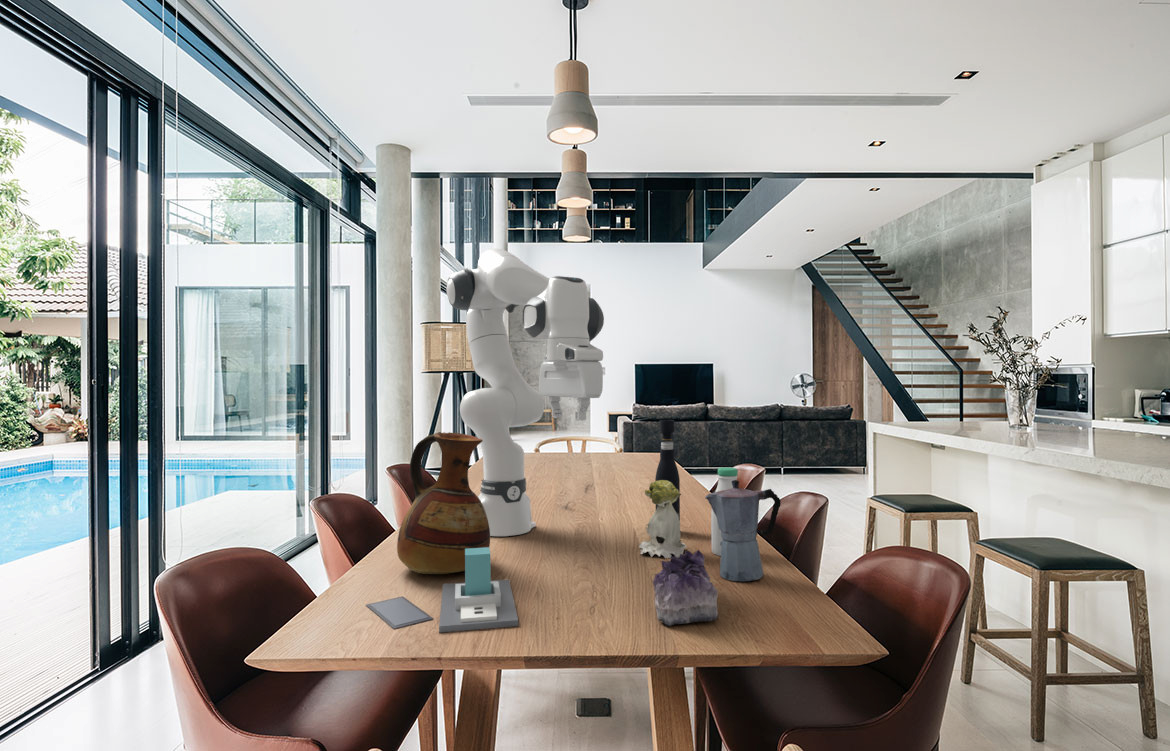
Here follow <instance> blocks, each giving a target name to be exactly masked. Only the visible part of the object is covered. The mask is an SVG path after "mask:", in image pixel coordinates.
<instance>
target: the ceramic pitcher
mask: <svg viewBox="0 0 1170 751" xmlns="http://www.w3.org/2000/svg"><path fill="white" fill-rule="evenodd" d="M482 441H483V440H482V439H479V438H478V437H477V436H473V435H470V434H469V435H468V434H466V433H458V432H450V431H449V432H445V431H443V432H441V431H439V432H435V433H433V434H431V435H430V434H429V435H427V436H426V437H423V439H421V440H420V441H418V443H417V444H416V445H415V446H414V449H413V452H412V454H411V457H410V461H409V474H410V479H411V482H412V486H413V490H414V493H415V494H414V496H415V497H414V501H413V502H412V503H411V505H410V506H409V508H408V510H407V511H406V513H405V515H404V517H403V519H402V522H401V525H400V527H399V531H398V535H397V542H396V551H397V556H398V559H399V561H401V563H402V564H403V565H404V566H406V568H408V569H409V570H411V571H412V572H415V573H419V574H424V575H448V574H453V573H454V574H455V573H462V572H465V549H468V548H485V547H489V548H490V545H491V536H490V528H489V524H488V519H487V515H486V512H485V509H484V507H483V505H482V503H481V501H480V499H479V498H478V495H477V494H476V493H475V492H474V491H473V490H472V489H471V488H470V484H469V467H470V465H471V463H470V462H471V457H472V455H473V452H474V450H475V449H476V448H477V447H478V446H479V445H480V443H481V442H482ZM436 442H437V443H438V447H439V448H440V452H441V466H440V470H439V474H438V477H437V479H436V482H434V484H433V485H432V486H429V487H427V486H426V485H425V482H424V479H423V474H422V473H423V472H422V462H423V458H424V455H425V453H426V451H427V450H428V448H429V446H431V445H432V444H434V443H436Z"/></svg>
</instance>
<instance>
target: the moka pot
mask: <svg viewBox="0 0 1170 751" xmlns="http://www.w3.org/2000/svg"><path fill="white" fill-rule="evenodd" d="M731 482H732V486H733V488H731V489H726V490H722V491H718V492H715V491H714V492H711V493H708V494H707V495H705V496H704V499H706V500H707V502H708V503H709V505H710V507H711V508H712V509H713V511H714V513H715V515H716V517H717V522H718V527H719V529H720V530H721V537H722V541H721V542H720V545H721V556H720V564H719V565H720V566H719V576H720V577H721V578H722V579H725V580H728V581H732V582H752V581H757V580H760V579H762V578H763V577H764V568H763V563H762V558H761V554H760V548H759V543H758V540H757V537H758V536H757V535H758V531H757V529H758V528H759V527H758V526H759V510H760V501H764V500H767V499H772V500H773V505H772V510H771V515H770V517H769V518H770V519H769V524H768V527H767V529H764V530H760V531H759V532H760V534H761V536H767V535H771V534H773V532H774V527H775V524H776V522H777V518H778V517H777V516H778V515H779V510H780V507H781V503H782V501H781V498H779V497H778V495H777V494H776V493H775V491H773V490H772V489H771V488H769V489H768V488H767V489H765V490H763V489H762V490H751V489H746V488H740V487H739V484H740V481H739V480H733V481H731Z"/></svg>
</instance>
